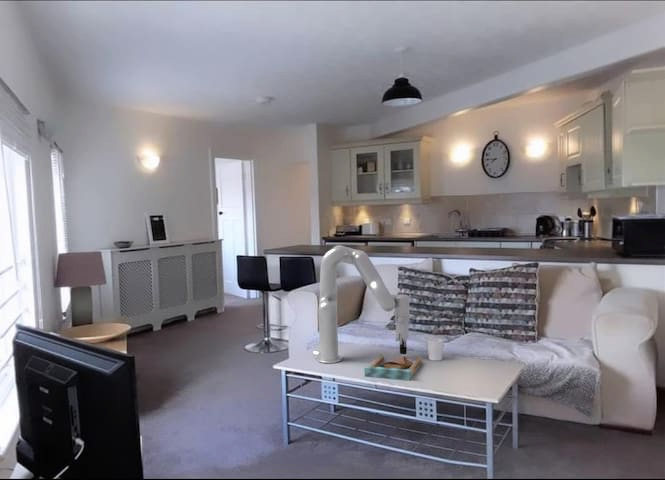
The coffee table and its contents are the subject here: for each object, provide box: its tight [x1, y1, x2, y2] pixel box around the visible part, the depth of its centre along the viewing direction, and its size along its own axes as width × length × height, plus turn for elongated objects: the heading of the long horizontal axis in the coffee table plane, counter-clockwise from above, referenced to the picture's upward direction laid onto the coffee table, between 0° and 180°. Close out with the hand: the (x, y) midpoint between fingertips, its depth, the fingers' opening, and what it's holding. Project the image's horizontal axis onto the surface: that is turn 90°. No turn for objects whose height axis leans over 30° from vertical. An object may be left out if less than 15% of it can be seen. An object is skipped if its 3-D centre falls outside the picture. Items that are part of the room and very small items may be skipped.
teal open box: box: [363, 354, 422, 381], centre depth 236 cm, size 21×27×4 cm
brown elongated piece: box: [380, 356, 414, 369], centre depth 239 cm, size 18×7×7 cm
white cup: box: [426, 337, 444, 362], centre depth 251 cm, size 8×8×10 cm
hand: (403, 353), depth 255 cm, fingers closed
